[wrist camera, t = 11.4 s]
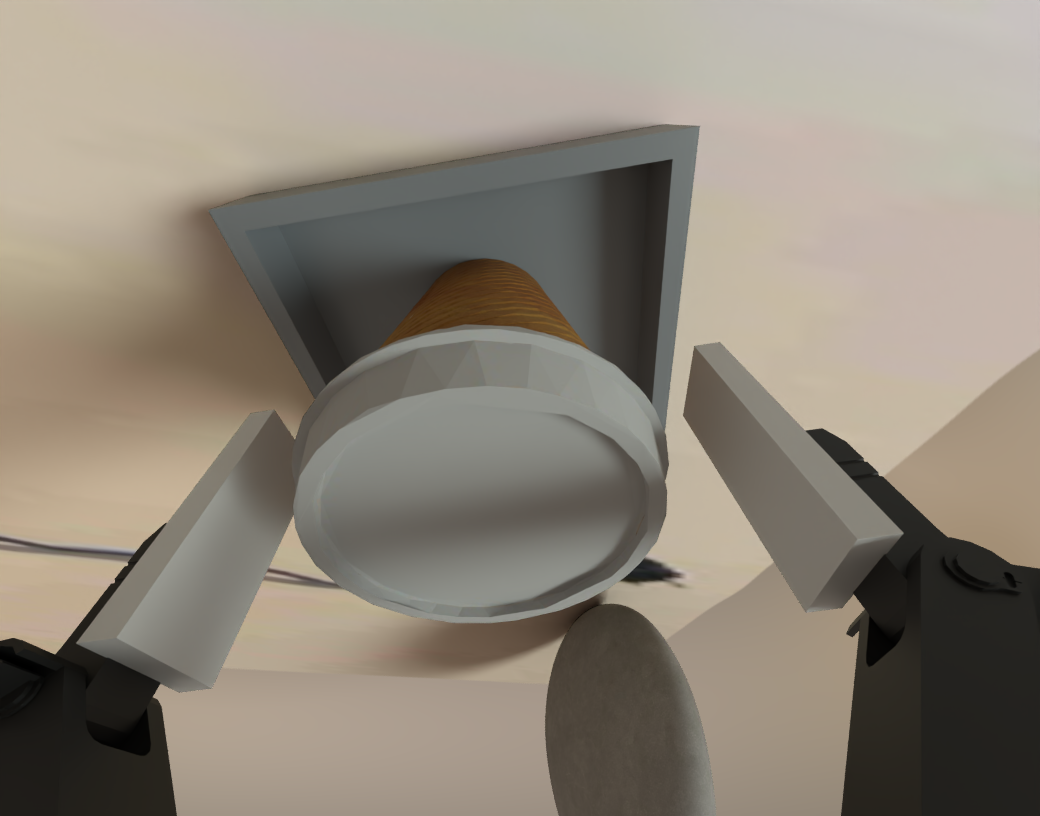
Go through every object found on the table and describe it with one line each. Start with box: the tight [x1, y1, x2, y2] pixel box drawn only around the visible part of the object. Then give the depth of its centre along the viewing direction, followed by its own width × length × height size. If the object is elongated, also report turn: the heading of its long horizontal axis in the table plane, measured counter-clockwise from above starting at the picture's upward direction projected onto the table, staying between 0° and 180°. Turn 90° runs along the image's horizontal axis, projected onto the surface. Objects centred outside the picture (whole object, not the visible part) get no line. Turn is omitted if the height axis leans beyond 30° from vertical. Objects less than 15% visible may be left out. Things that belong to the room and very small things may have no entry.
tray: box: [208, 124, 700, 432], centre depth 21 cm, size 22×17×3 cm
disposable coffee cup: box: [292, 258, 669, 623], centre depth 14 cm, size 10×10×12 cm
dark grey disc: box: [545, 604, 716, 816], centre depth 31 cm, size 18×7×19 cm, turn 155°
